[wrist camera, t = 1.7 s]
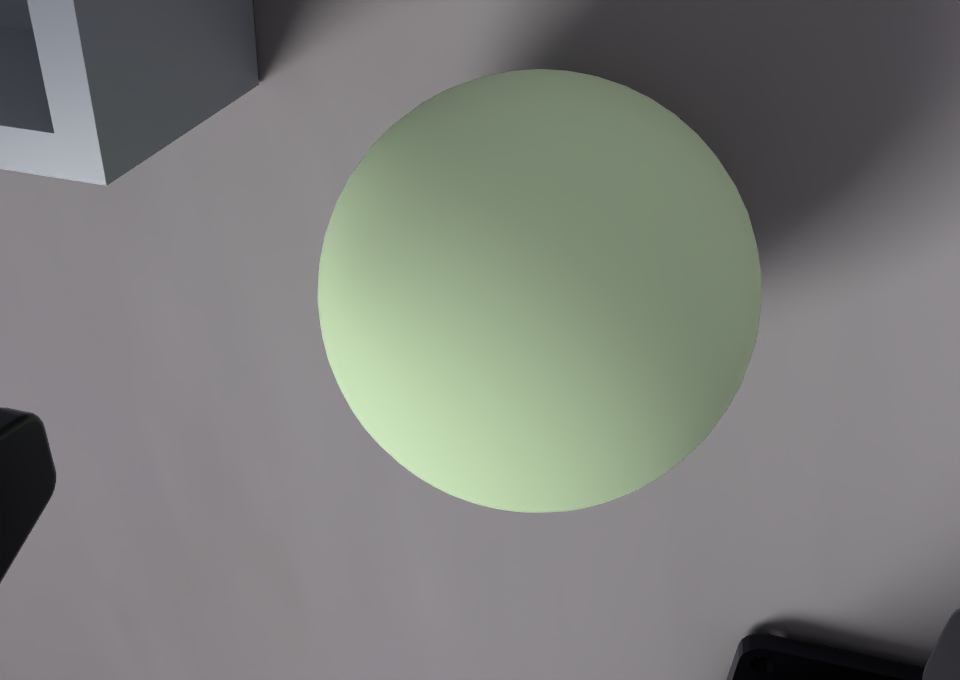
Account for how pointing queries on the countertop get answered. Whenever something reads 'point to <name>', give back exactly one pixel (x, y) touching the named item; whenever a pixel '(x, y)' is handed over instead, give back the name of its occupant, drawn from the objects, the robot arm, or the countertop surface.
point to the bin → (115, 79)
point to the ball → (539, 291)
